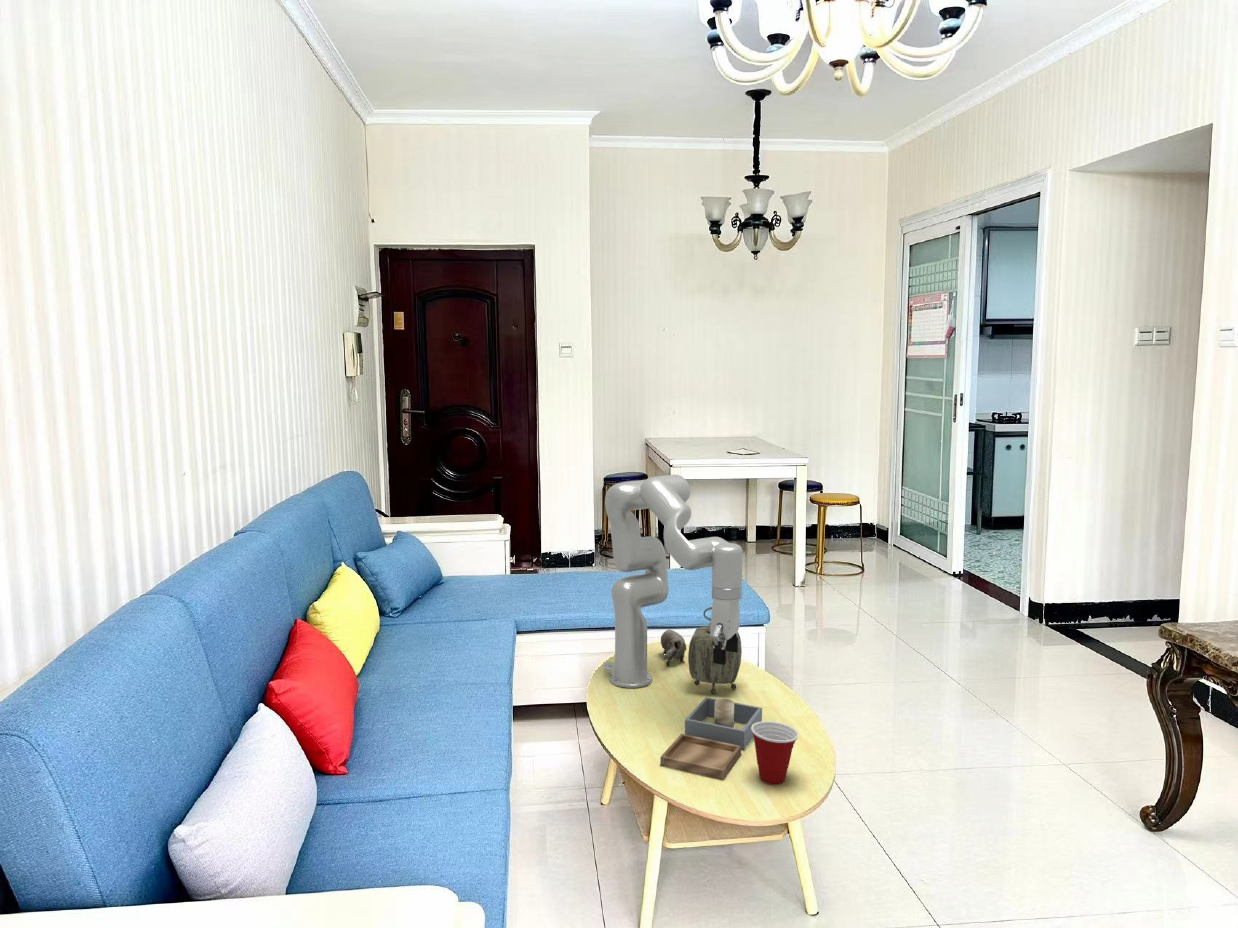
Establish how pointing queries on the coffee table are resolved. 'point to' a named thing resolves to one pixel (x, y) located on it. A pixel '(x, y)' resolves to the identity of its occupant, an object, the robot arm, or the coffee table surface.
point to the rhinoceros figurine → (673, 646)
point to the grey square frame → (723, 733)
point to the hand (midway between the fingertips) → (725, 657)
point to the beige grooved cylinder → (724, 713)
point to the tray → (701, 756)
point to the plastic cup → (773, 749)
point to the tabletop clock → (711, 659)
